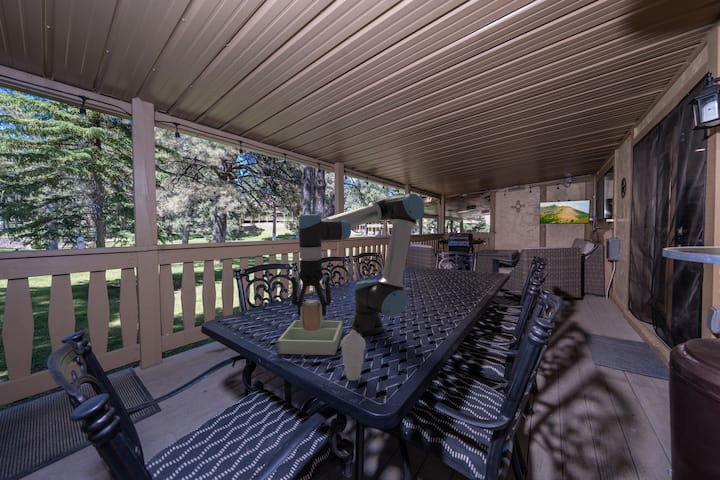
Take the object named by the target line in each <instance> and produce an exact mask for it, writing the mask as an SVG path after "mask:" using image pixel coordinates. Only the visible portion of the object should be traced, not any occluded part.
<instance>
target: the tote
mask: <svg viewBox="0 0 720 480" xmlns="http://www.w3.org/2000/svg"><path fill="white" fill-rule="evenodd" d="M343 325H344V324H343V320H323V328H320V329H318V330H315V331H307V330H304V325H303V326H301V319H295V320H293V322H292V323H291V324H290V325H289V326H288V328H287V329H286V330H285V331H284V332H283V333H282V334H281V336H280V337H279V338H278V339H277V340H276V347H277V348H276V349H277V352H276V353H277V354H278V355H281V354H282V355H283V354H285V355H311V356H312V355H313V356H314V355H315V356H316V355H317V356H319V355H320V356H322V355H323V356H335V355H336V354H337V350H338V347H339V346H340V343H341V340H342V339H341V338H342V335H343V331H344V329H343Z"/></svg>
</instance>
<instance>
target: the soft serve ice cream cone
mask: <svg viewBox="0 0 720 480" xmlns="http://www.w3.org/2000/svg"><path fill="white" fill-rule="evenodd" d="M342 338H343V339H340V343H339V346H340V347H341V353H342V364H343V366H344V371H345V376H346V379H347V380H348V381H352V382H354V381H358V380H360V378H361V372H362V367H363V363H364V353H365V350H366V345H367V343H366V340H365V339H364V337H362V336H361V335H360V334H359V332H357V331H355V330H353V329H351V330H350V332H349V333H348V334H346V335H345V336H344V337H342Z"/></svg>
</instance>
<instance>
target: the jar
mask: <svg viewBox="0 0 720 480" xmlns="http://www.w3.org/2000/svg"><path fill="white" fill-rule="evenodd" d="M302 305H303V323H304V330H307V331H315V330H318V329H320V328H321V326H320V313H319V307H320V306H321V303H320V300H318V299H307V300H305V301H303V304H302Z"/></svg>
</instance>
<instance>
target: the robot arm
mask: <svg viewBox="0 0 720 480" xmlns="http://www.w3.org/2000/svg"><path fill="white" fill-rule="evenodd" d="M424 215H425V203H424V201H423V200H422V198H421V197H420V195H418V194H417V193H412V192H411V193H403V194H402V193H401V194H396V195H395V194H394V195H387V196H385V197H382V198H380V199H377V200H375V201H372V202H369V204H368V205H365V206H362V207H359V208H355V209H351V210H347V211H344V212H342V213H337V214H334V215H331V216H328V217H325V218H322V217H321V214H316V213H315V214H314V213H312V214H311V213H310V214H309V213H308V214H304V213H303V214H301V215H299V217H298V227H297V228H298V237H299V238H298V240H299V241H298V243H299V244H298V245H299V258H300V260H299V274H298V275H293V276H292V277H291V283H292V290H291V291H292V297H291V304H292V305H293V306H296V307H297V316H299V317H300V320H301V326H303V325H304V323H303V304H304V299H305V296H306V293H307V290H308V287H310V286H312V287H314V288H315V290H316V293H317V295H318V299H319V302H320V305H321V306H320V307H319V313H320V326H322V325H323V321H324V316H326V315H327V306H330V304H331V303H332V297H331V296H332V295H331V279H332V276H331V275H325V274H324V272H323V259H321V258H322V257H323V254H322V242H329V241H332V242H333V241H340V242H341V241H344V240H348V239H349V238H350V237H351V234H352V229H354V228H356V227H358V226H362V225H364V224H365V225H366V224H368V223H370V222H374V223H378V222H381V221H389V222H390V223H391V224H392V226H391V231H390V236H389V242H388V246H387V253H386V255H385V256H386V257H385V263H384V266H383V272H382V277H381V278H380V279H366V280H359V281H357V282H356V283H355V284H354V310H355V311H354V314H353V315H354V316H353V319H352V320H351V321H352V322H351V330H355V331H356V332H357V333H361V335H364V336H365V335H366V336H371V335H377V334H380V333H381V332H383V331H384V322H383V320H382V316H381V314H382V315H384V316H385V317H386V316H387V317H390V318H395V317H398V316H400V315H401V314H402V313H403V312H404V311H405V309H406V307H407V304H408V297H407V296H408V295H407V293H406V292H405V291H404V289H405V285H404V284H403V277H404V276H403V275H404V271H405V265H406V261H407V255H408V250H409V244H410V239H411V235H412V229H413V228H414V227H416V226H417V221H419V220H421V219H422V218H423V217H424ZM322 280H323V282H324V287H325V295H324V293H323V290H322V287H321V286H322V285H321V281H322ZM299 281H301V282H302V286H301V289H300V294H299ZM298 295H299V297H298Z"/></svg>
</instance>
